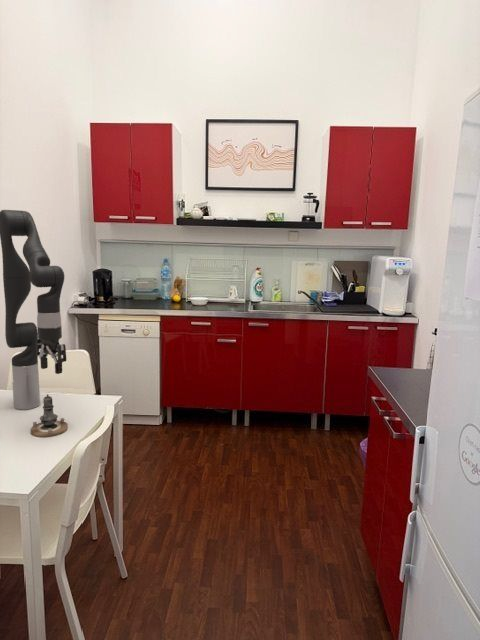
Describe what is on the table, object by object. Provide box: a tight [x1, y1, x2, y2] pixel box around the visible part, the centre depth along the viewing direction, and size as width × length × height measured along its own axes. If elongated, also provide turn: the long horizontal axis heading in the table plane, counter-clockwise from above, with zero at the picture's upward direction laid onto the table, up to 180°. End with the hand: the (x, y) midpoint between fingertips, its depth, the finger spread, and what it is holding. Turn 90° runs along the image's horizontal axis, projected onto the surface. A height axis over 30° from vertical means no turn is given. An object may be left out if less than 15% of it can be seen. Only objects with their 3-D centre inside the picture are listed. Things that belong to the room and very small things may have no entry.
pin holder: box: [30, 417, 69, 438], centre depth 157 cm, size 12×12×2 cm
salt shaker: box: [39, 393, 59, 430], centre depth 156 cm, size 6×6×12 cm
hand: (51, 370), depth 156 cm, fingers open, 8 cm apart
